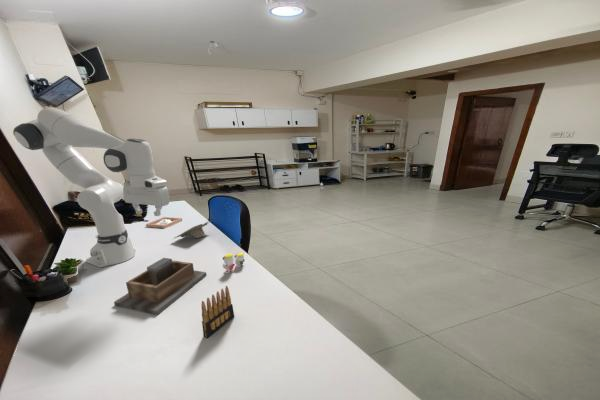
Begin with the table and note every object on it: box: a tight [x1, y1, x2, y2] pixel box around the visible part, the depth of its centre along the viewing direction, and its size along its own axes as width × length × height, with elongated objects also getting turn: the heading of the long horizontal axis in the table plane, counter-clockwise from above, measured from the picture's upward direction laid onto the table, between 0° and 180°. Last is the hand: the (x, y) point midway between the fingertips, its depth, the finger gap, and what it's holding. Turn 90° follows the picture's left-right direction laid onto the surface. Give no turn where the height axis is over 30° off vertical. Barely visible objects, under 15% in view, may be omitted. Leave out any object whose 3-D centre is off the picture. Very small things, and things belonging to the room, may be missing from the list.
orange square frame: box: [145, 216, 183, 229], centre depth 182 cm, size 16×16×2 cm
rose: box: [156, 219, 173, 225], centre depth 179 cm, size 10×4×10 cm
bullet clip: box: [201, 285, 235, 339], centre depth 78 cm, size 11×2×12 cm, turn 147°
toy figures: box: [222, 252, 246, 274], centre depth 114 cm, size 12×4×8 cm, turn 144°
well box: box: [113, 259, 207, 316], centre depth 100 cm, size 20×26×8 cm
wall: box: [172, 220, 212, 240], centre depth 152 cm, size 19×10×17 cm
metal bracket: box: [146, 257, 174, 286], centre depth 100 cm, size 8×8×10 cm
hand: (148, 214), depth 103 cm, fingers open, 8 cm apart
